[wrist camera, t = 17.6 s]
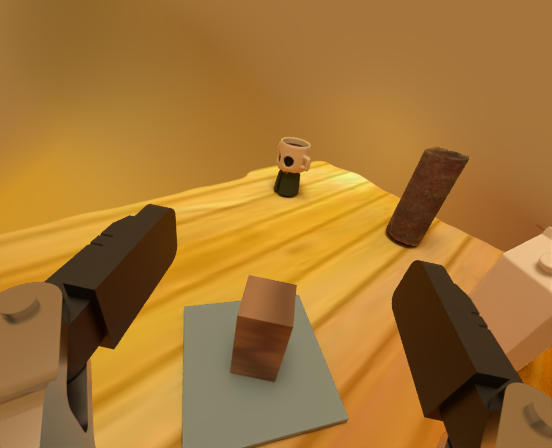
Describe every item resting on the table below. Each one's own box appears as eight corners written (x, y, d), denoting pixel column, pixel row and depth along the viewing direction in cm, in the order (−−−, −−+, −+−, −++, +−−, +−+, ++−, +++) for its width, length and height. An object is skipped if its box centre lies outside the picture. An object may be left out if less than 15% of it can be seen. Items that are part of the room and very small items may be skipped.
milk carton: (475, 325, 41) (570, 226, 31) (517, 372, 36) (651, 271, 25) (437, 329, 39) (526, 225, 29) (476, 379, 34) (602, 273, 23)
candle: (402, 252, 54) (455, 159, 43) (376, 231, 59) (418, 143, 48) (425, 245, 58) (479, 158, 47) (399, 226, 63) (442, 143, 52)
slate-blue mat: (182, 466, 23) (182, 463, 22) (184, 310, 35) (184, 306, 35) (346, 421, 27) (348, 418, 27) (297, 298, 40) (298, 294, 39)
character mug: (261, 185, 69) (269, 135, 62) (282, 180, 73) (291, 133, 66) (289, 205, 63) (301, 152, 55) (310, 199, 67) (323, 149, 60)
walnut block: (229, 372, 29) (237, 315, 23) (240, 332, 33) (249, 275, 27) (274, 382, 29) (293, 327, 23) (279, 340, 33) (296, 285, 27)
